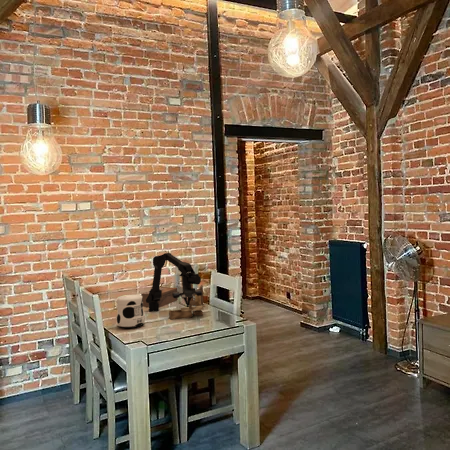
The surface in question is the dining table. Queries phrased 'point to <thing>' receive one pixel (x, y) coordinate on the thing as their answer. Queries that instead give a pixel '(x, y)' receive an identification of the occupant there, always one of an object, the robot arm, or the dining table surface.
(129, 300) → the milk container
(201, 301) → the wooden block
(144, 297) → the tissue box cover
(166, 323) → the dining table surface
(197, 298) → the key peg
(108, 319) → the dining table surface
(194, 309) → the lid
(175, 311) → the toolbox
